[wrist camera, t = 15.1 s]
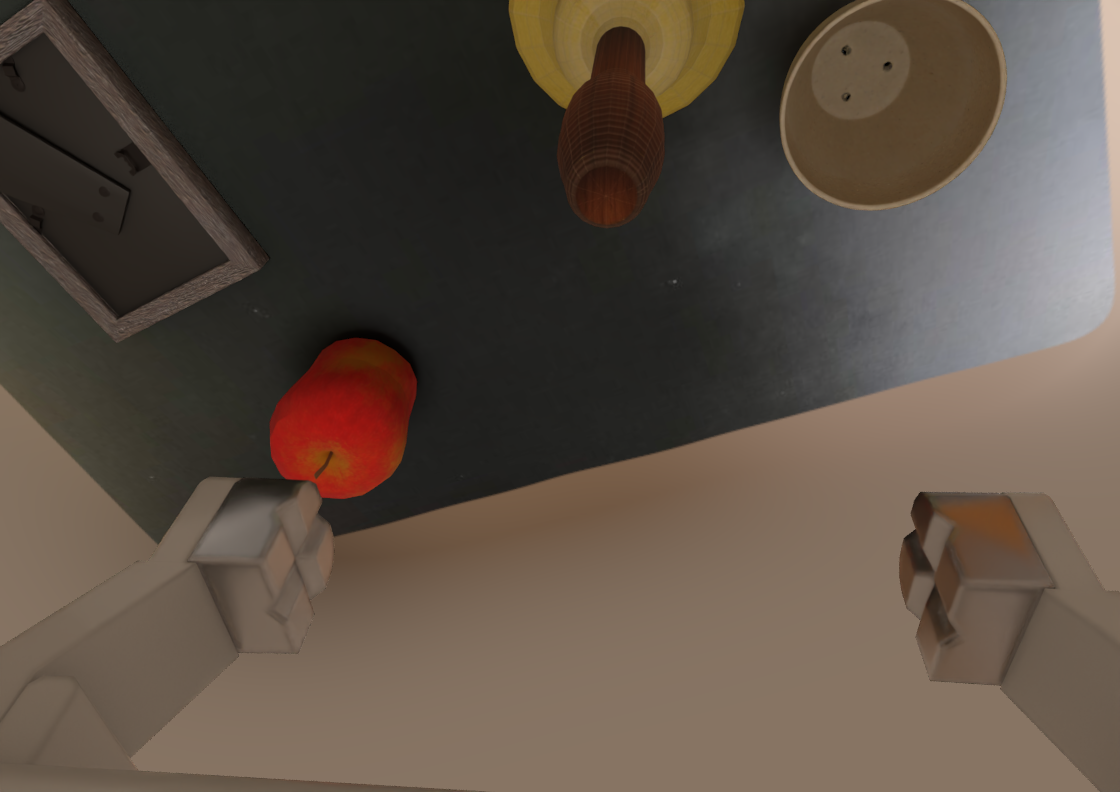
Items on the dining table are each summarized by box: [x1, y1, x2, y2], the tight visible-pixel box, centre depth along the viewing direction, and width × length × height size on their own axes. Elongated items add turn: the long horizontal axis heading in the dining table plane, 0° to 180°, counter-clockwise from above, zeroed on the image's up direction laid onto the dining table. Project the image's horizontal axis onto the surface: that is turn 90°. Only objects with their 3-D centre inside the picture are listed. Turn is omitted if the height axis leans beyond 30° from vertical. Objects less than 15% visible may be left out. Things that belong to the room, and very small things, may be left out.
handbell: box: [509, 0, 745, 228], centre depth 33 cm, size 12×12×25 cm
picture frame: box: [0, 0, 270, 343], centre depth 50 cm, size 13×2×18 cm
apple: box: [270, 338, 417, 499], centre depth 53 cm, size 9×8×12 cm
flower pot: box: [779, 0, 1007, 211], centre depth 41 cm, size 10×10×7 cm
